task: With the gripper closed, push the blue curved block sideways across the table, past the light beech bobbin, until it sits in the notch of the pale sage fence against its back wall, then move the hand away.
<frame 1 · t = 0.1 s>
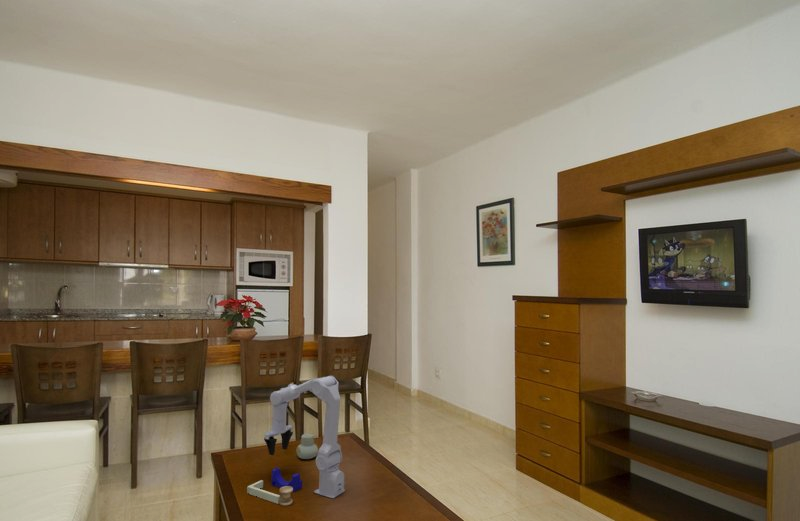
hand: (278, 451, 194), 10 cm above the table, tool pointing down, fingers open, 7 cm apart
bobbin: (285, 502, 170), on the table
notched fence: (272, 493, 177), on the table
blue curved block: (286, 487, 184), on the table
air freshener: (307, 457, 215), on the table
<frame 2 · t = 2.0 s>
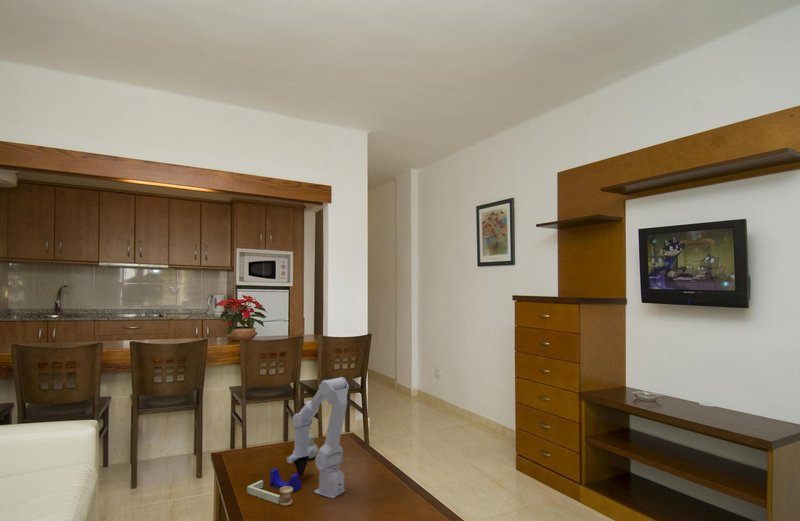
hand: (300, 475, 191), 2 cm above the table, tool pointing down, fingers closed
nothing on the table moved.
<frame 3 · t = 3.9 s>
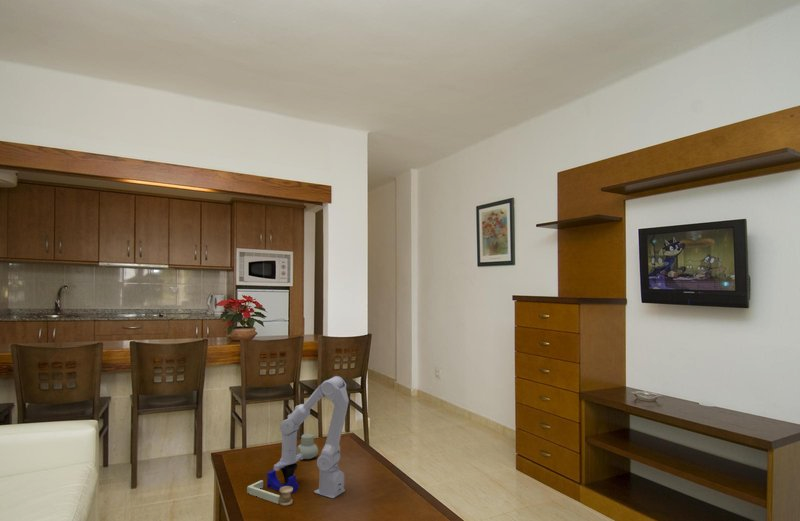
hand: (288, 482, 185), 1 cm above the table, tool pointing down, fingers closed
blue curved block: (282, 489, 182), on the table, touching gripper
everything else where it was.
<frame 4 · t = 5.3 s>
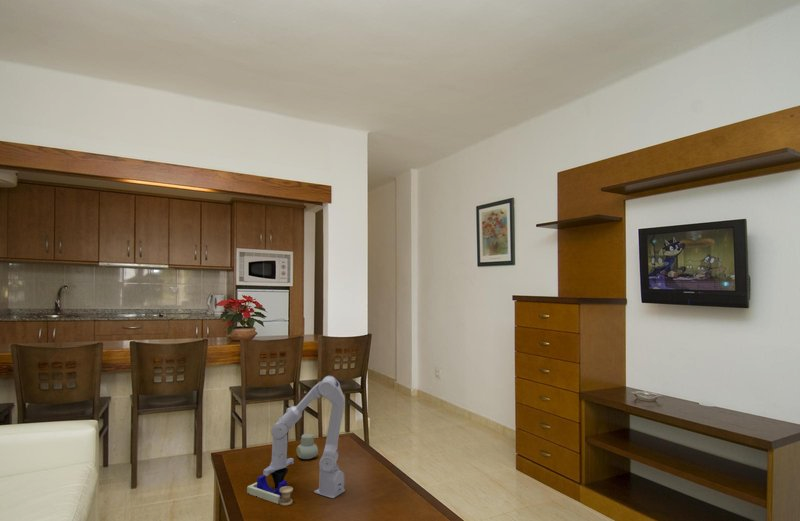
hand: (278, 488, 180), 1 cm above the table, tool pointing down, fingers closed
blue curved block: (272, 495, 177), on the table
everything else where it was.
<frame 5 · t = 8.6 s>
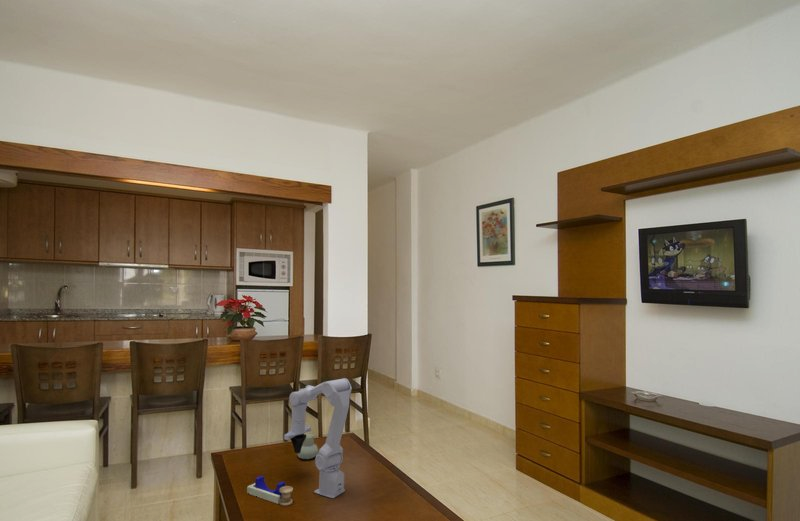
hand: (297, 452, 194), 10 cm above the table, tool pointing down, fingers closed
nothing on the table moved.
at the end: blue curved block inside the target area on the notched fence (1.3 cm from its centre), point 0.0 cm above the notched fence's base; blue curved block moved 8.9 cm from its start; the gripper is holding nothing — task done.
